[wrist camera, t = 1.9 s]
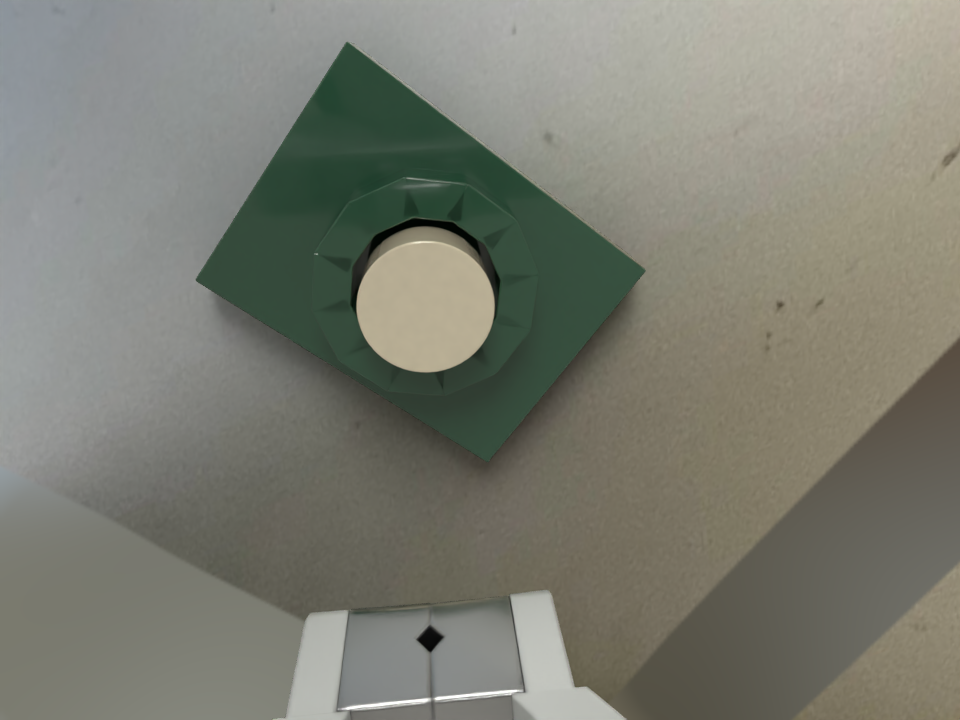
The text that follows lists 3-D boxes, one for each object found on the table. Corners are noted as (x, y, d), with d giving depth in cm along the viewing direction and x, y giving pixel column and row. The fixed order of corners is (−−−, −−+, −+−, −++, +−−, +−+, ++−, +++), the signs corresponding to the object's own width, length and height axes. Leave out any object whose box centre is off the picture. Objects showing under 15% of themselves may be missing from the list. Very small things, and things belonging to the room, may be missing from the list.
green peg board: (210, 265, 27) (175, 299, 23) (352, 42, 24) (340, 39, 21) (483, 437, 30) (492, 492, 26) (631, 256, 28) (664, 287, 24)
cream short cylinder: (336, 303, 24) (329, 324, 22) (409, 199, 23) (408, 212, 21) (440, 370, 25) (441, 397, 23) (514, 274, 24) (522, 293, 22)
